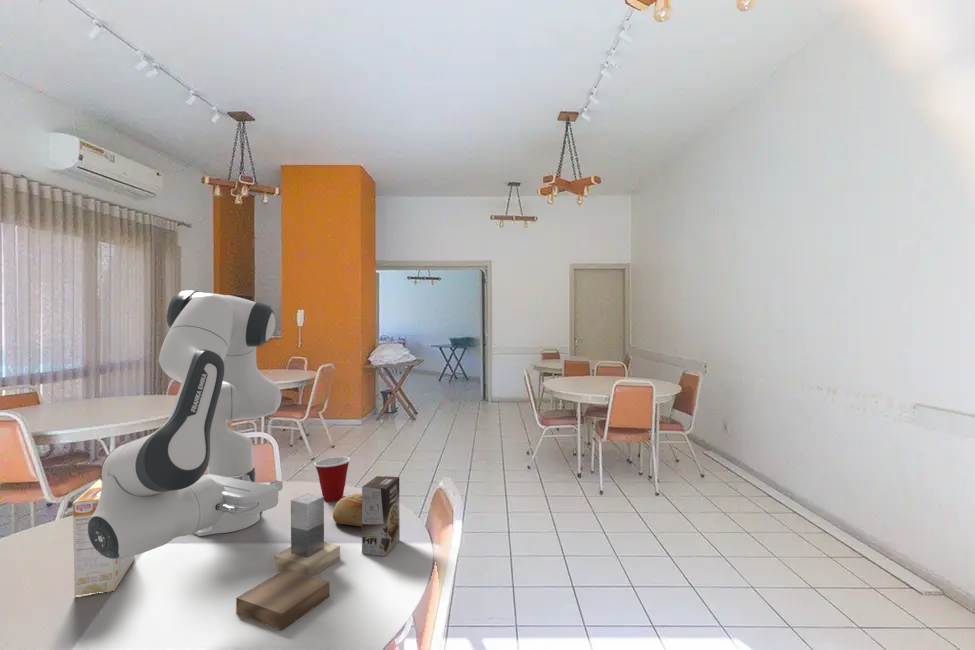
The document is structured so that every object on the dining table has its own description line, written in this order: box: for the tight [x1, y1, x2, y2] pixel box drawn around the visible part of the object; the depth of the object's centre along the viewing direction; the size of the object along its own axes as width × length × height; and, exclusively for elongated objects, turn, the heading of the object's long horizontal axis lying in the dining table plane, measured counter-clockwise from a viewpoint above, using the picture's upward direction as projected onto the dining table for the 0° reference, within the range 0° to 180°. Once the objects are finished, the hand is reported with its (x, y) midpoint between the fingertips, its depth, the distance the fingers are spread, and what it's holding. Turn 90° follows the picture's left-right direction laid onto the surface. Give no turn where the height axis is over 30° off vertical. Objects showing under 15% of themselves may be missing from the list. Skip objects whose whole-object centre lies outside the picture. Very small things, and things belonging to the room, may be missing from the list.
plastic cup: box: [313, 456, 351, 503], centre depth 154 cm, size 11×11×12 cm
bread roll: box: [332, 493, 362, 528], centre depth 135 cm, size 10×15×8 cm, turn 73°
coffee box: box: [361, 475, 401, 557], centre depth 121 cm, size 9×6×16 cm
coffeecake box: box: [71, 479, 135, 597], centre depth 107 cm, size 15×7×20 cm, turn 22°
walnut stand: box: [235, 569, 331, 631], centre depth 97 cm, size 12×12×3 cm
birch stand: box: [273, 541, 341, 577], centre depth 113 cm, size 10×10×3 cm
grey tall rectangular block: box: [290, 493, 325, 558], centre depth 113 cm, size 5×5×12 cm
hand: (263, 481), depth 102 cm, fingers open, 8 cm apart
